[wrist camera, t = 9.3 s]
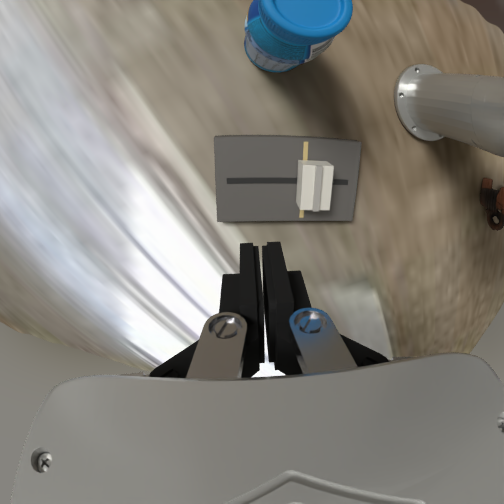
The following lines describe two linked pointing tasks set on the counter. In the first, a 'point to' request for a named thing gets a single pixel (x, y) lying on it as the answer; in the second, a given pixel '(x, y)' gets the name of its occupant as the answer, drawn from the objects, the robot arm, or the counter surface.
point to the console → (280, 176)
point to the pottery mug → (493, 203)
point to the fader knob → (314, 185)
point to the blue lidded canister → (292, 30)
